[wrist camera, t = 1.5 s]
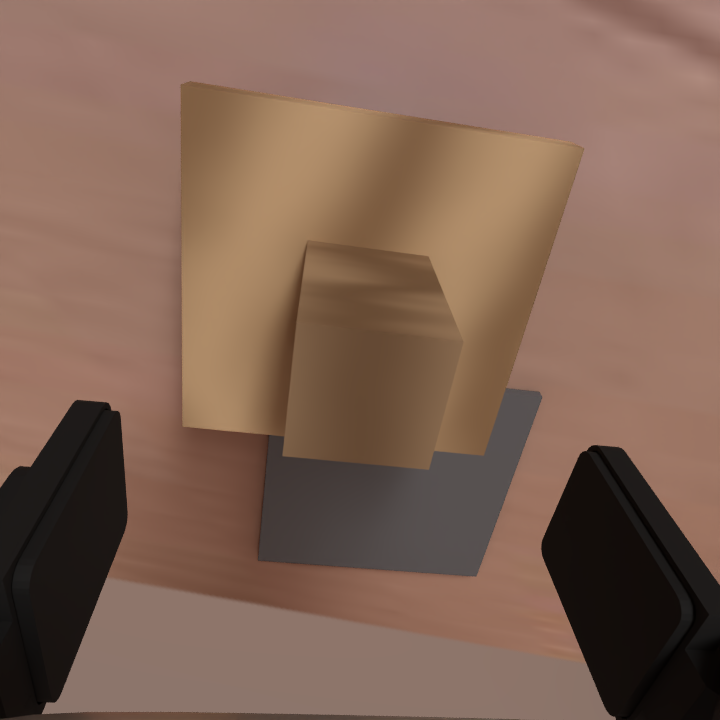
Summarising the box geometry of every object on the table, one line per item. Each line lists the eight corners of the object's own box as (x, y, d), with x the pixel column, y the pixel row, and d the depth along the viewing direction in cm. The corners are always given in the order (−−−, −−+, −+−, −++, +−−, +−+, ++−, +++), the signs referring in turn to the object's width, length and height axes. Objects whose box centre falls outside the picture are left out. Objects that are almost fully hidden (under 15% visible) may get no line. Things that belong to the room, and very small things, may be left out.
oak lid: (570, 141, 18) (691, 198, 12) (477, 437, 24) (526, 578, 18) (190, 81, 17) (106, 110, 11) (189, 408, 23) (134, 549, 17)
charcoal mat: (539, 392, 30) (542, 397, 30) (474, 570, 37) (476, 576, 37) (275, 363, 29) (275, 368, 29) (259, 554, 36) (257, 560, 35)
